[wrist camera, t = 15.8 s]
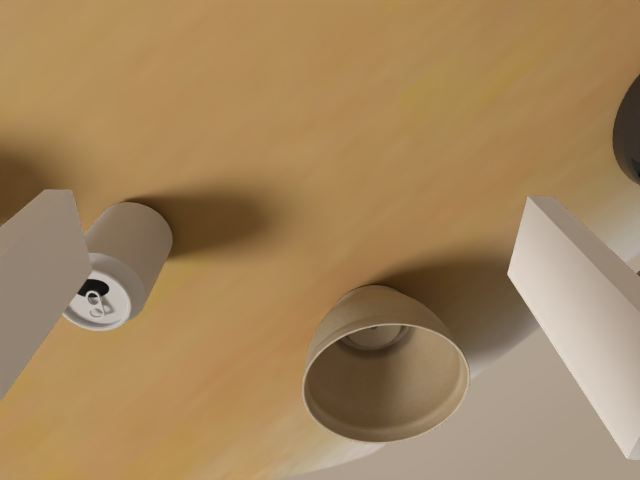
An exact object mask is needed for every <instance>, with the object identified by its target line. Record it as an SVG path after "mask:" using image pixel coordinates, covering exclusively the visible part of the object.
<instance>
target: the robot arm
mask: <svg viewBox="0 0 640 480" xmlns="http://www.w3.org/2000/svg"><path fill="white" fill-rule="evenodd" d="M613 149H614V154H615V157H616V160H617V162H618V164H619V166H620V168H621V169H622V171H623V172H624V173H625V174H626V175H627V176H628V177H629V178H630V179H631V180H632V181H634V182H635V183H637V184H639V185H640V75H639V76H638V77H637V78H636V80H635V81H634V82H633V84H632V85H631V87H630V88H629V90H628V91H627V93H626V95H625V97H624V99H623V101H622V103H621V105H620V107H619V110H618V113H617V116H616V119H615V123H614V129H613ZM92 271H93V270H92V266H91V262H90V258H89V254H88V250H87V246H86V242H85V238H84V234H83V230H82V226H81V222H80V218H79V214H78V210H77V206H76V202H75V198H74V195H73V191H72V190H55V189H45V190H43V191H42V192H41V193H40V194H39V195H38V196H36V197H35V198H34V199H33V200H32V201H30V202H29V203H28V204H27V205H26V206H25V207H23V208H22V209H21V210H20V211H19V212H17V213H16V214H15V215H14V216H13V217H12V218H10V219H9V220H8V221H7V222H6V223H5V224H3V225H2V226H1V227H0V402H1V400H2V399H3V397H4V396H5V395H6V393H7V392H8V390H9V389H10V387H11V386H12V385H13V383H14V382H15V380H16V379H17V378H18V376H19V375H20V373H21V372H22V370H23V369H24V368H25V366H26V365H27V363H28V362H29V361H30V359H31V358H32V356H33V355H34V353H35V352H36V351H37V349H38V348H39V346H40V345H41V344H42V342H43V341H44V339H45V338H46V336H47V335H48V334H49V332H50V331H51V329H52V328H53V327H54V325H55V324H56V322H57V321H58V319H59V318H60V317H61V315H62V314H63V312H64V311H65V310H66V308H67V307H68V305H69V304H70V302H71V301H72V300H73V298H74V297H75V295H76V294H77V293H78V291H79V290H80V288H81V287H82V285H83V284H84V283H85V281H86V280H87V278H88V277H89V276H90V274H91V273H92ZM507 275H508V276H509V278H510V280H511V281H512V283H513V284H514V286H515V287H516V289H517V290H518V292H519V293H520V295H521V296H522V298H523V300H524V301H525V303H526V304H527V306H528V307H529V309H530V310H531V312H532V313H533V315H534V316H535V318H536V320H537V321H538V323H539V324H540V326H541V327H542V329H543V330H544V332H545V333H546V335H547V336H548V338H549V340H550V341H551V343H552V344H553V346H554V347H555V349H556V350H557V352H558V353H559V355H560V356H561V358H562V359H563V361H564V362H565V364H566V366H567V367H568V369H569V370H570V372H571V373H572V375H573V376H574V378H575V380H576V381H577V383H578V384H579V386H580V387H581V389H582V390H583V392H584V393H585V395H586V396H587V398H588V399H589V401H590V403H591V404H592V406H593V407H594V409H595V410H596V412H597V413H598V415H599V416H600V418H601V420H602V421H603V423H604V424H605V426H606V427H607V429H608V430H609V432H610V433H611V435H612V436H613V438H614V440H615V441H616V443H617V444H618V446H619V447H620V449H621V450H622V452H623V453H624V455H625V456H626V458H627V459H640V271H639V272H638V273H637V274H636V273H635V272H634V271H633V270H632V269H631V268H630V267H629V266H628V265H627V264H626V263H625V262H623V261H622V260H621V259H620V258H619V257H618V256H617V255H616V254H615V253H614V252H613V251H612V250H611V249H610V248H608V247H607V246H606V245H605V244H604V243H603V242H602V241H601V240H600V239H599V238H598V237H597V236H596V235H595V234H593V233H592V232H591V231H590V230H589V229H588V228H587V227H586V226H585V225H584V224H583V223H582V222H581V221H580V220H578V219H577V218H576V217H575V216H574V215H573V214H572V213H571V212H570V211H569V210H568V209H567V208H566V207H564V206H563V205H562V204H561V203H560V202H559V201H558V200H557V199H556V198H555V197H554V196H528V198H527V201H526V205H525V209H524V213H523V216H522V220H521V224H520V228H519V232H518V235H517V239H516V243H515V247H514V250H513V254H512V258H511V262H510V266H509V269H508V273H507Z"/></svg>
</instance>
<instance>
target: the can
mask: <svg viewBox="0 0 640 480" xmlns="http://www.w3.org/2000/svg"><path fill="white" fill-rule="evenodd" d="M84 238H85V242H86V246H87V250H88V254H89V258H90V262H91V266H92V270H93V271H92V273H91V274H90V276H89V277H88V278H87V280H86V281H85V283H84V284H83V285H82V287H81V288H80V290H79V291H78V293H77V294H76V295H75V297H74V298H73V300H72V301H71V302H70V304H69V305H68V307H67V308H66V310H65V311H64V312H63V314H62V315H63V316H64V317H66V318H67V319H68V320H69V321H70V322H72V323H74V324H76V325H78V326H80V327H82V328H86V329H89V330H96V331H107V330H112V329H116V328H118V327H119V326H121V325H123V324H124V323H126V322H128V321H130V320H132V319H133V318H135V317H136V316H137V315H138V314H139V313H140V312H141V310H142V309H143V307H144V305H145V303H146V301H147V299H148V297H149V295H150V292H151V290H152V288H153V286H154V284H155V282H156V280H157V278H158V276H159V274H160V272H161V270H162V268H163V265H164V263H165V261H166V259H167V257H168V255H169V253H170V250H171V247H172V244H173V240H172V232H171V230H170V227H169V225H168V223H167V222H166V221H165V219H164V218H163V217H162V216H161V215H160V214H159V213H157V212H156V211H155V210H153V209H152V208H150V207H148V206H145V205H142V204H139V203H132V202H123V203H118V204H114V205H112V206H110V207H109V208H107V209H106V210H104V211H103V213H102V214H101V215H100V216H99V217H98V219H97V220H96V221H95V222H94V223H93V225H92V226H91V227H90V228H89V229H88V231H87V232H86V233H85V234H84Z"/></svg>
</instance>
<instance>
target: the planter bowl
mask: <svg viewBox="0 0 640 480" xmlns="http://www.w3.org/2000/svg"><path fill="white" fill-rule="evenodd" d="M372 327H375V328H372ZM469 385H470V370H469V365H468V362H467V360H466V357H465V355H464V353H463V352H462V350H461V348H460V347H459V346H458V344H457V343H456V342H455V340H454V338H453V336H452V335H451V333H450V331H449V330H448V329H447V327H446V326H445V325H444V323H443V322H442V321H441V320H440V319H439V318H438V317H437V316H436V315H435V314H434V313H433V312H432V311H431V310H430V309H428V308H427V307H426V306H425V305H423V304H422V303H420V302H419V301H417V300H415V299H413V298H411V297H409V296H407V295H404V294H402V293H401V292H399V291H397V290H395V289H393V288H390V287H387V286H381V285H370V286H364V287H360V288H357V289H354V290H352V291H350V292H349V293H347V294H346V295H344V296H343V297H342V298H341V299H340V300H339V301H338V302H337V303H336V305H335V306H334V308H333V309H332V310H331V311H329V313H328V314H327V315H326V316H325V317H324V319H323V320H322V321H321V323H320V324H319V326H318V328H317V329H316V331H315V333H314V335H313V338H312V340H311V342H310V345H309V349H308V352H307V357H306V363H305V370H304V374H303V379H302V397H303V401H304V404H305V407H306V409H307V411H308V413H309V414H310V416H311V417H312V418H313V419H314V420H315V422H317V423H318V424H319V425H320V426H321V427H322V428H324V429H325V430H327V431H328V432H330V433H332V434H334V435H336V436H339V437H341V438H344V439H347V440H350V441H354V442H359V443H366V444H389V443H396V442H402V441H406V440H410V439H413V438H416V437H419V436H421V435H424V434H426V433H428V432H430V431H432V430H434V429H436V428H437V427H439V426H440V425H442V424H443V423H444V422H446V421H447V420H448V419H449V418H450V417H451V416H452V415H453V414H454V413H455V412H456V411H457V409H458V408H459V407H460V405H461V404H462V402H463V401H464V399H465V397H466V394H467V392H468V389H469Z"/></svg>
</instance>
